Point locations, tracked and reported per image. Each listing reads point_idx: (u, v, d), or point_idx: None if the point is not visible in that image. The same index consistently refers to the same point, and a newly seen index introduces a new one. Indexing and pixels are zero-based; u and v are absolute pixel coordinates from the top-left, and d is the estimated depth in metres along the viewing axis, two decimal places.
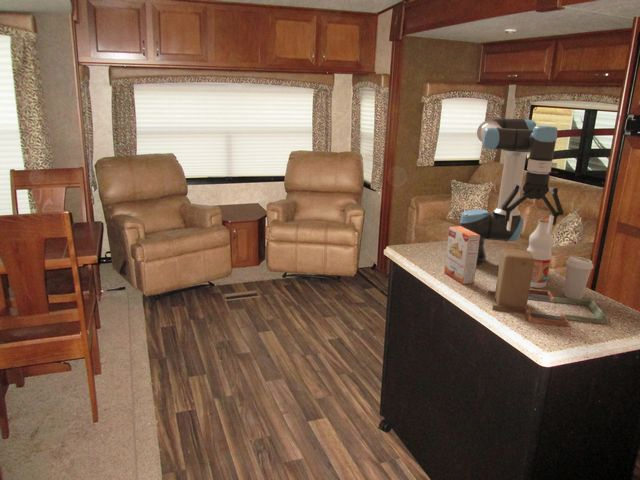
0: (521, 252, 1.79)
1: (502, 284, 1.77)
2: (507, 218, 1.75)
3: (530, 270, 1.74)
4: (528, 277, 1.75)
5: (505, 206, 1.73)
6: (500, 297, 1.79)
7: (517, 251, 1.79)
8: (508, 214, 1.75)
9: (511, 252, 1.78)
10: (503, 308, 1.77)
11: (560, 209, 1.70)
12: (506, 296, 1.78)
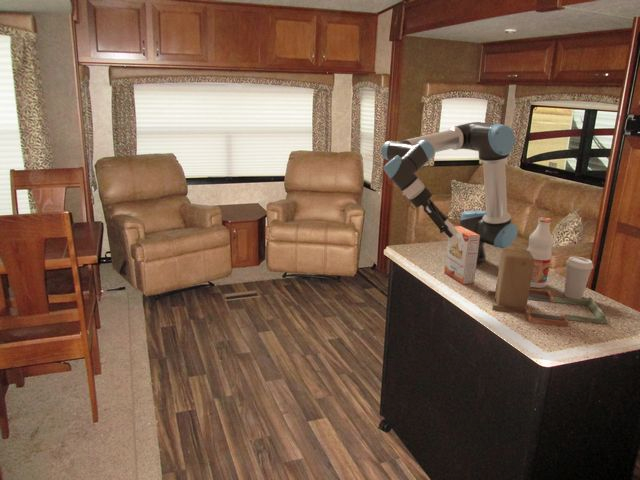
0: (521, 252, 1.79)
1: (502, 284, 1.77)
2: None
3: (530, 270, 1.74)
4: (528, 277, 1.75)
5: None
6: (500, 297, 1.79)
7: (517, 251, 1.79)
8: None
9: (511, 252, 1.78)
10: (503, 308, 1.77)
11: (438, 227, 1.73)
12: (506, 296, 1.78)
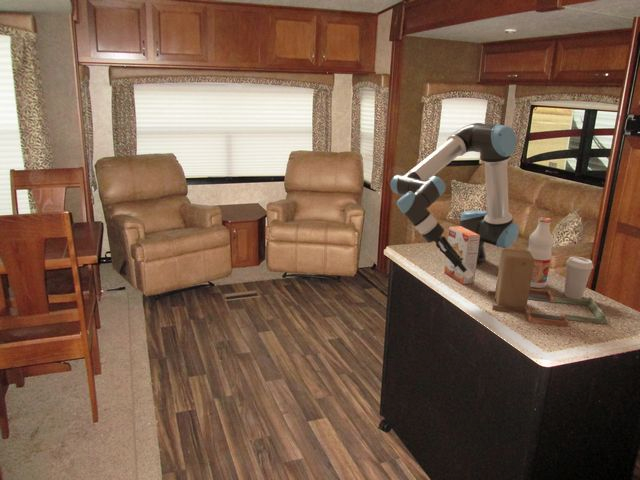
0: (521, 252, 1.79)
1: (502, 284, 1.77)
2: None
3: (530, 270, 1.74)
4: (528, 277, 1.75)
5: None
6: (500, 297, 1.79)
7: (517, 251, 1.79)
8: None
9: (511, 252, 1.78)
10: (503, 308, 1.77)
11: (452, 262, 1.80)
12: (506, 296, 1.78)
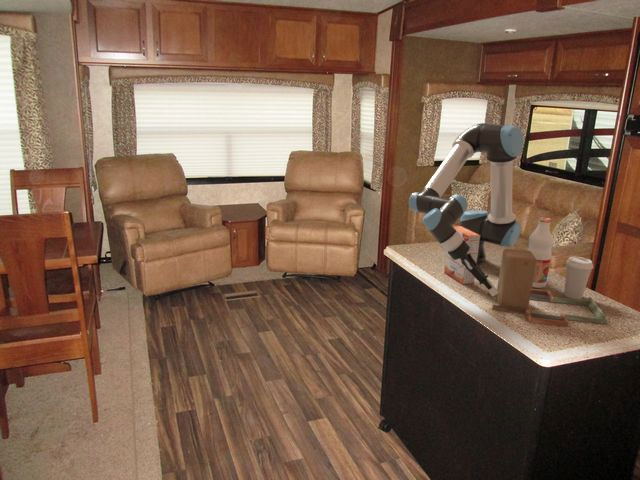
0: (523, 252, 1.78)
1: (504, 284, 1.77)
2: None
3: (532, 270, 1.74)
4: (530, 277, 1.75)
5: None
6: (502, 297, 1.79)
7: (518, 251, 1.79)
8: None
9: (513, 252, 1.78)
10: (503, 308, 1.77)
11: (478, 280, 1.79)
12: (508, 297, 1.78)
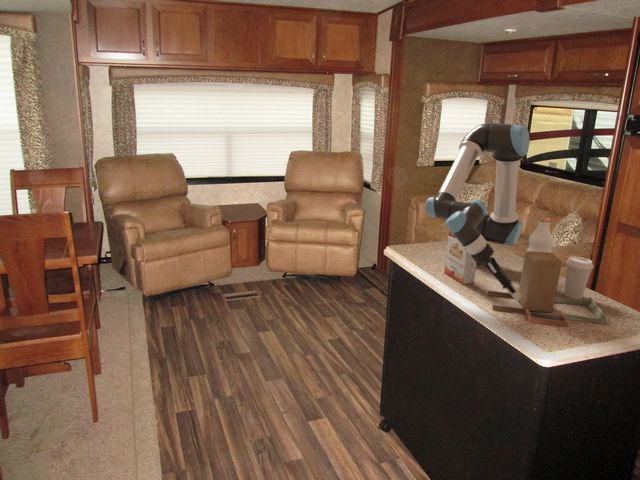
0: (546, 254, 1.77)
1: (530, 288, 1.75)
2: None
3: (558, 272, 1.73)
4: (555, 279, 1.73)
5: None
6: (528, 301, 1.76)
7: (541, 254, 1.78)
8: None
9: (537, 254, 1.76)
10: (503, 308, 1.77)
11: None
12: (533, 300, 1.76)
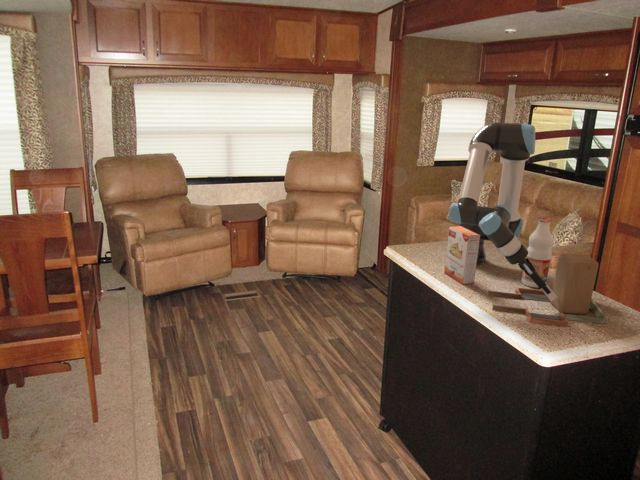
0: (581, 256, 1.77)
1: (567, 290, 1.74)
2: None
3: (594, 274, 1.72)
4: (592, 281, 1.73)
5: None
6: (564, 303, 1.76)
7: (576, 255, 1.77)
8: None
9: (572, 256, 1.76)
10: (503, 308, 1.77)
11: (537, 285, 1.76)
12: (570, 302, 1.75)
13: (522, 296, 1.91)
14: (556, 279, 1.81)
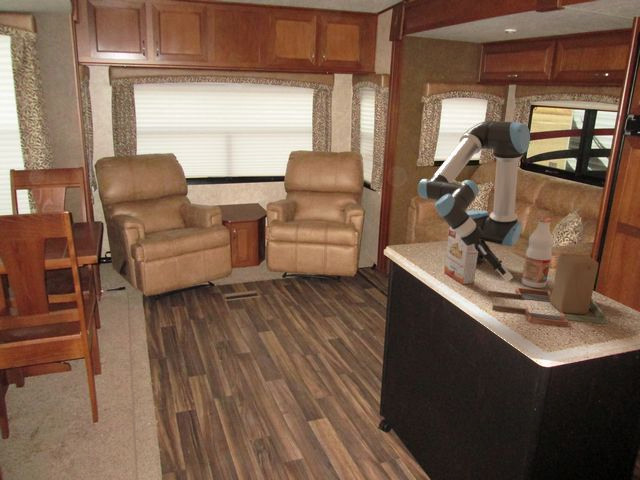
0: (581, 256, 1.77)
1: (566, 290, 1.74)
2: None
3: (594, 274, 1.72)
4: (592, 281, 1.73)
5: None
6: (564, 303, 1.76)
7: (576, 256, 1.77)
8: None
9: (572, 257, 1.76)
10: (503, 308, 1.77)
11: (492, 265, 1.77)
12: (569, 302, 1.75)
13: (522, 296, 1.91)
14: (556, 279, 1.81)
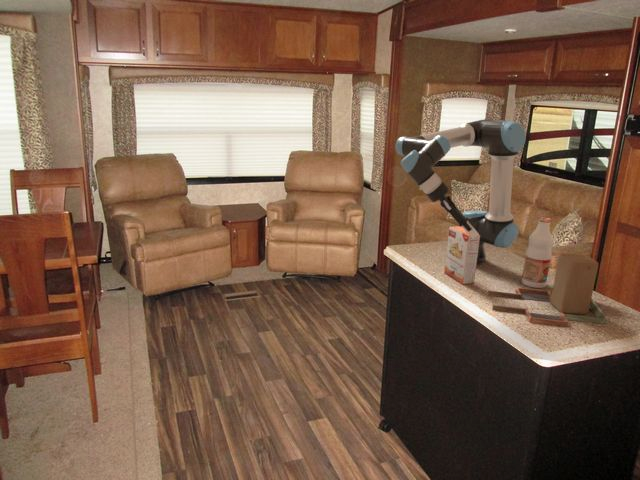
0: (581, 256, 1.77)
1: (566, 290, 1.74)
2: None
3: (594, 274, 1.72)
4: (592, 281, 1.73)
5: None
6: (564, 303, 1.76)
7: (576, 256, 1.77)
8: None
9: (572, 257, 1.76)
10: (503, 308, 1.77)
11: (457, 221, 1.78)
12: (569, 302, 1.75)
13: (522, 296, 1.91)
14: (556, 279, 1.81)
